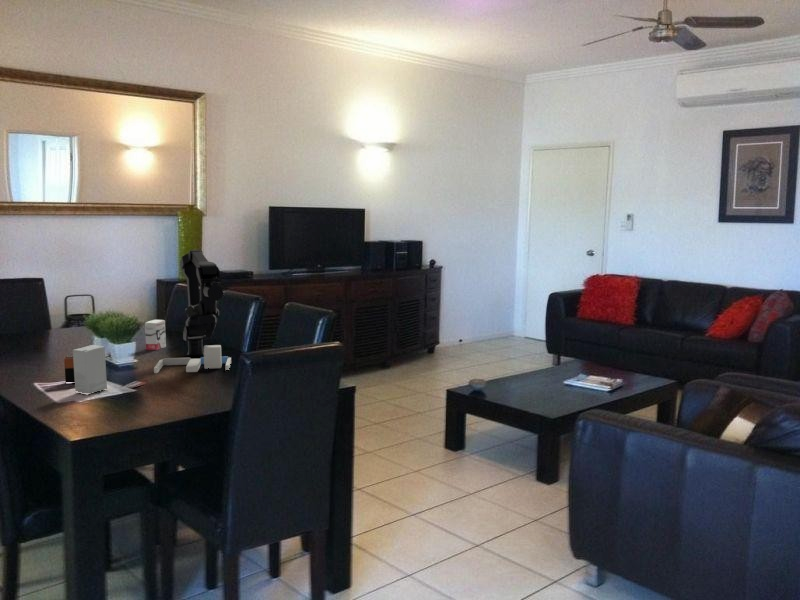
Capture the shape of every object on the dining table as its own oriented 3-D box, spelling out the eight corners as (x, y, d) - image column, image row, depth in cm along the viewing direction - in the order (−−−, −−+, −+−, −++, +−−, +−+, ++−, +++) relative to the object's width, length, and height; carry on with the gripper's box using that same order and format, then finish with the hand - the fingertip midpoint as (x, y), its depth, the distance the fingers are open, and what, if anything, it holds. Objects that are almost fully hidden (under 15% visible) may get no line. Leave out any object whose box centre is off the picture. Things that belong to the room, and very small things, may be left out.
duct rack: (160, 364, 276) (159, 358, 276) (231, 362, 280) (231, 356, 280) (154, 373, 262) (153, 366, 262) (228, 370, 267) (228, 363, 266)
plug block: (205, 366, 274) (204, 345, 273) (221, 365, 275) (221, 345, 274) (204, 368, 270) (203, 347, 269) (220, 368, 271) (220, 347, 270)
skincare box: (94, 388, 241) (92, 344, 239) (108, 390, 239) (106, 345, 237) (74, 394, 234) (71, 348, 232) (87, 396, 231) (85, 350, 229)
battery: (87, 383, 248) (85, 354, 246) (65, 385, 245) (63, 356, 244) (88, 380, 252) (86, 352, 250) (66, 382, 249) (64, 353, 248)
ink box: (156, 350, 303) (155, 322, 302) (145, 350, 304) (144, 322, 303) (166, 346, 312) (165, 319, 310) (155, 346, 313) (154, 319, 311)
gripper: (189, 294, 279) (190, 333, 282) (182, 301, 261) (184, 343, 264) (218, 293, 281) (219, 333, 284) (214, 300, 263) (215, 343, 265)
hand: (209, 338), depth 274 cm, fingers closed
